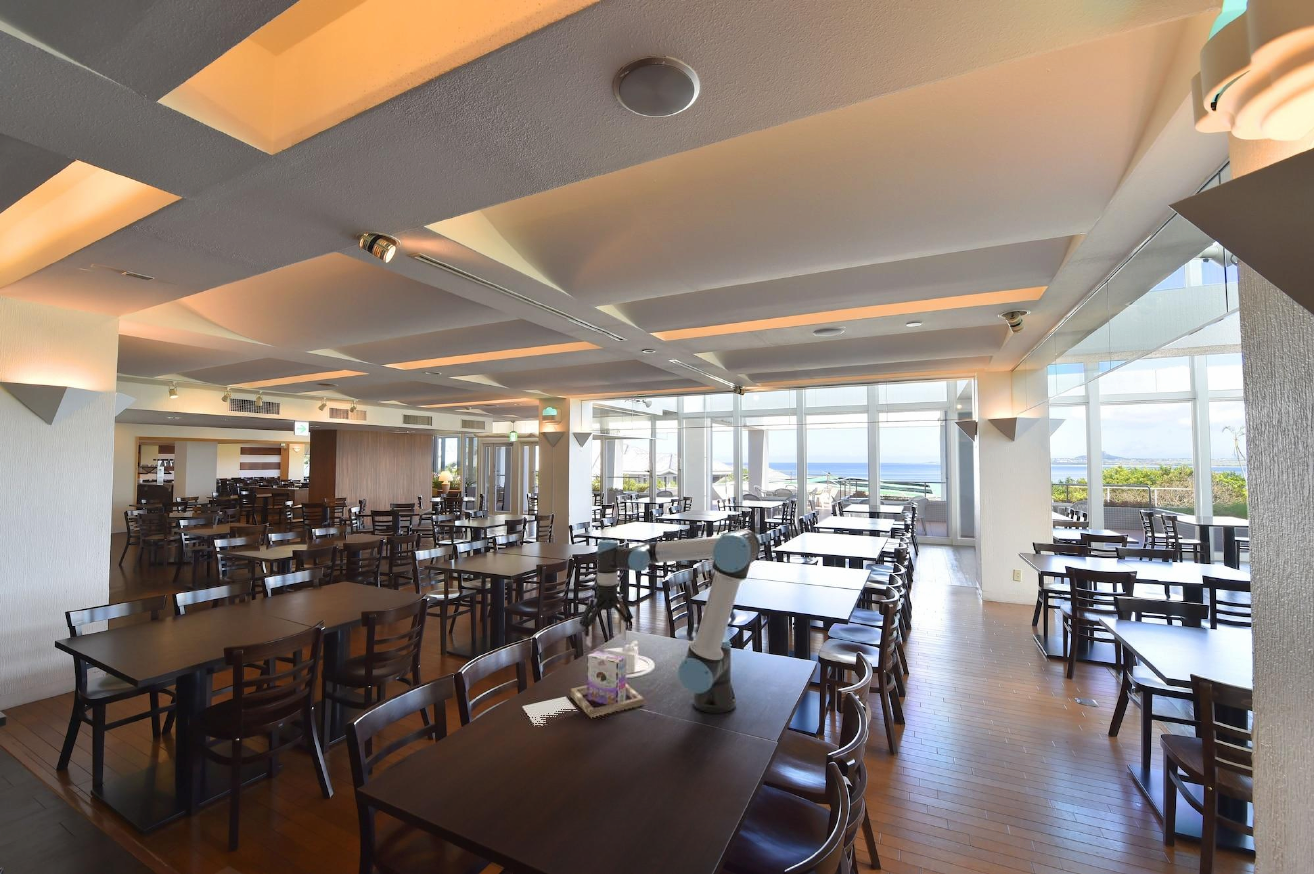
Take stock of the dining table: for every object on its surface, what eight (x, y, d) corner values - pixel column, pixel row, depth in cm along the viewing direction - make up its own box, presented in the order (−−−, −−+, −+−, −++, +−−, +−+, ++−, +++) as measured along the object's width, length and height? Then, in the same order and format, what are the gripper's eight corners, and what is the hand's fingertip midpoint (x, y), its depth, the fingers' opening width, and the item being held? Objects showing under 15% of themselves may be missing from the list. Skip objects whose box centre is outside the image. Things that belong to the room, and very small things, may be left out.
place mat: (585, 721, 178) (585, 719, 178) (538, 733, 170) (538, 731, 170) (565, 698, 196) (565, 696, 196) (522, 707, 188) (522, 706, 188)
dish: (657, 658, 236) (657, 632, 237) (651, 681, 211) (651, 652, 212) (602, 655, 239) (602, 630, 239) (590, 678, 214) (590, 650, 214)
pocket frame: (643, 706, 189) (643, 698, 189) (591, 720, 179) (591, 711, 179) (619, 685, 206) (619, 678, 206) (570, 696, 197) (570, 688, 197)
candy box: (626, 703, 192) (627, 657, 192) (617, 710, 187) (617, 662, 187) (596, 694, 199) (596, 649, 200) (586, 700, 194) (586, 654, 195)
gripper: (633, 577, 204) (632, 633, 203) (571, 584, 192) (570, 644, 191) (642, 581, 197) (641, 639, 196) (578, 589, 185) (577, 651, 184)
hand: (606, 642), depth 194 cm, fingers open, 13 cm apart
